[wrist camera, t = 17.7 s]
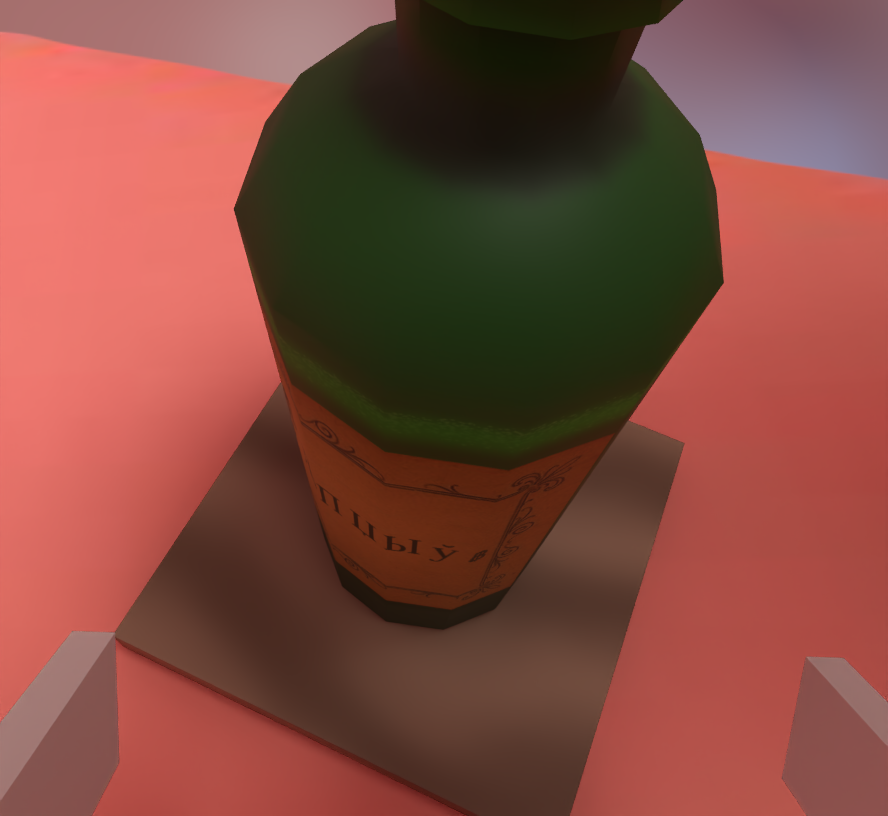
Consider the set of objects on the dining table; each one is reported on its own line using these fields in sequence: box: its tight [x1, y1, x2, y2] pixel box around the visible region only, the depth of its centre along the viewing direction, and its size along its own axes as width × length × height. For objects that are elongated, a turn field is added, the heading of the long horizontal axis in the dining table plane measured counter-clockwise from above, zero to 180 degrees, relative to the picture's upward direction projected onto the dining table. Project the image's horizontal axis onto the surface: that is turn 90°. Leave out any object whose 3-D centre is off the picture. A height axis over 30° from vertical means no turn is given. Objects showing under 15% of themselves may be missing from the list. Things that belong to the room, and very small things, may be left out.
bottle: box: [234, 0, 724, 630], centre depth 21 cm, size 11×11×28 cm
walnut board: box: [115, 383, 684, 816], centre depth 34 cm, size 18×18×2 cm
